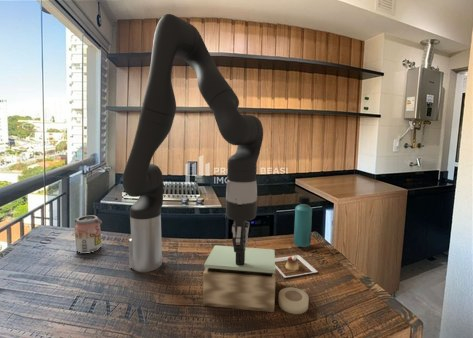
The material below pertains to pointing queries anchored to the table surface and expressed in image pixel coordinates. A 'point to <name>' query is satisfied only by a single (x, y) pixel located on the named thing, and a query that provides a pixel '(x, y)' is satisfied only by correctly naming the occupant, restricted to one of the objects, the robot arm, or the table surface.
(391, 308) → the table surface
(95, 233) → the beverage can
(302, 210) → the beverage bottle
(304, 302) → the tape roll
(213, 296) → the crate
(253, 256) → the lid
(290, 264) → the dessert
